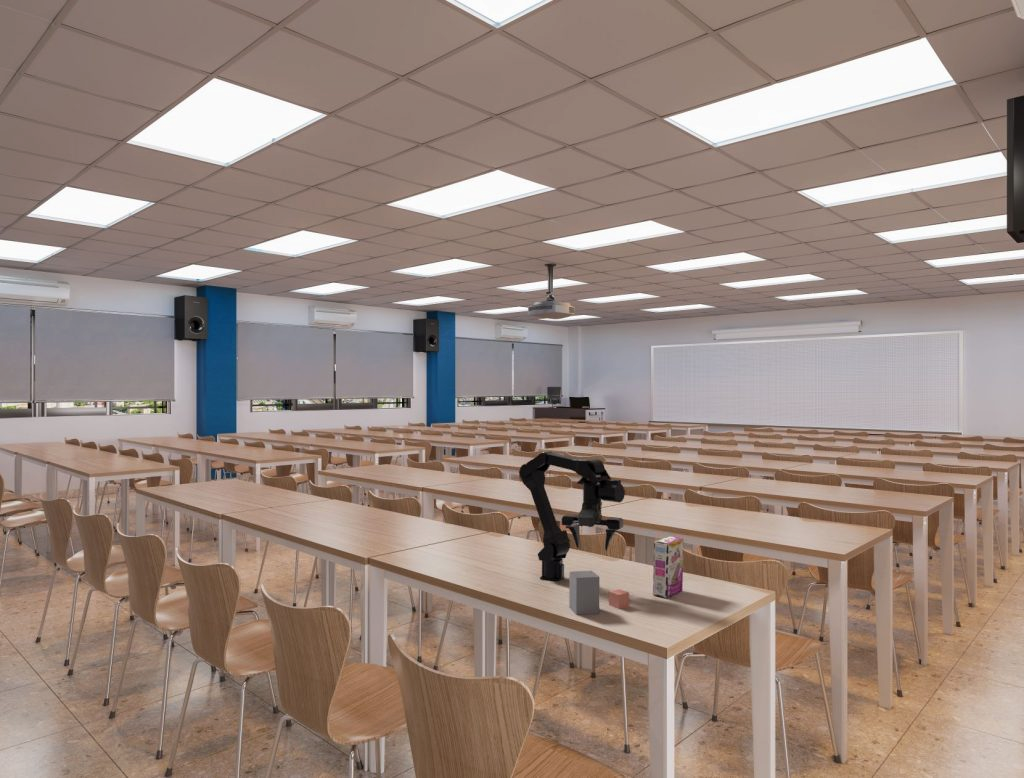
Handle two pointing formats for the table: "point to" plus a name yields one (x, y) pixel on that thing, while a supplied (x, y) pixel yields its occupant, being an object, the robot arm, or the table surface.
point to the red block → (618, 599)
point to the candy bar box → (668, 566)
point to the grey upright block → (584, 592)
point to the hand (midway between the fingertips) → (592, 549)
